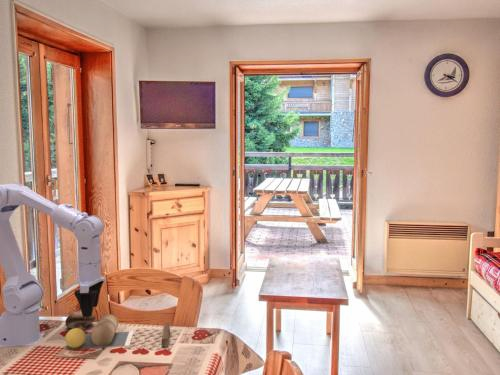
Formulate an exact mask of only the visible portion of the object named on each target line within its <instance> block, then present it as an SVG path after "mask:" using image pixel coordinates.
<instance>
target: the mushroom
mask: <svg viewBox="0 0 500 375" xmlns="http://www.w3.org/2000/svg"><path fill="white" fill-rule="evenodd" d="M95 318H96V317H95V315H94V314H93V313H92V316H91V317H83V315H82V312H81V310H77V311H74V312H71V313H70V314H69V315H68V316H67V317H66V318H65V327H66V328H68V329H73V328H79V329H82V330H83V331H84V332H85V331H86V327H87V326H89V325H91V324H93V323H94V321H95Z"/></svg>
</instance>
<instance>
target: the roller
mask: <svg viewBox="0 0 500 375" xmlns="http://www.w3.org/2000/svg"><path fill="white" fill-rule="evenodd" d="M118 327H119V320H118V318H117V317H116V315H114V314H111V313H109V314H104V315H102V316H101V317H99V319H98V320H97V323H96V324H95V327H94V329H93V330H92V332H91V333H92V335H91V338H92V341H93V343H94V344H96V345H97V346H106V345H108V344H110V342H111V341H112V339H113V337H114V334H115V332H117V329H118Z"/></svg>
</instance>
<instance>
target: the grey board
mask: <svg viewBox="0 0 500 375" xmlns="http://www.w3.org/2000/svg"><path fill="white" fill-rule="evenodd" d="M91 335H92V332H91V333H85V341H84V343H83V344H82V345H81V346H79V347H77V348H72V347H69V346H68V345H67V348H66V350H78V349H93V348H94V349H96V348H97V349H98V348H114V347H115V348H116V347H130V344H131V341H132V337H133V335H134V331H133V330H129V331H116V332H115V334H114V337H113V339H112V341H111V342H110V344H108V345H106V346H97V345H96V344H94V343H93V341H92V338H91Z"/></svg>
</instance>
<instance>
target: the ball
mask: <svg viewBox="0 0 500 375" xmlns="http://www.w3.org/2000/svg"><path fill="white" fill-rule="evenodd" d="M85 334H86V333H85V331H83V330H82V329H79V328H70V330H69V331H68V332H66V334H65V338H64V341H65V343H66V345H67V347H68V346H69V347H72V348H77V347H79V346H81V345H82V344H83V343H84V341H85Z"/></svg>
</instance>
